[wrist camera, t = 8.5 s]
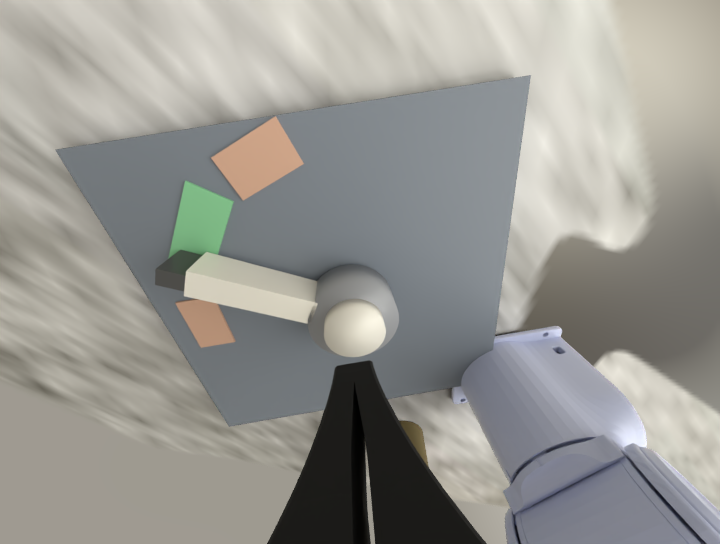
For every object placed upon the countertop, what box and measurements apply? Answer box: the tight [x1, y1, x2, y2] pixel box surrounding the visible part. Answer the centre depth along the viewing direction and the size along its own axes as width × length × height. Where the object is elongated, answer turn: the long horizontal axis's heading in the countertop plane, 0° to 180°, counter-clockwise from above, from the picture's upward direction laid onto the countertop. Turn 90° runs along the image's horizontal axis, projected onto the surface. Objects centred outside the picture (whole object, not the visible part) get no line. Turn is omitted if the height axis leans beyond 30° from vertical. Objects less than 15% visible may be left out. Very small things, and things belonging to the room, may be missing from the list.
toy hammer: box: [155, 250, 399, 357], centre depth 16 cm, size 14×6×4 cm, turn 70°
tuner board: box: [56, 75, 531, 426], centre depth 19 cm, size 24×23×1 cm
